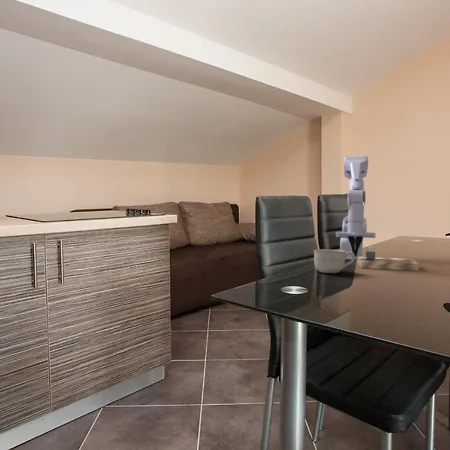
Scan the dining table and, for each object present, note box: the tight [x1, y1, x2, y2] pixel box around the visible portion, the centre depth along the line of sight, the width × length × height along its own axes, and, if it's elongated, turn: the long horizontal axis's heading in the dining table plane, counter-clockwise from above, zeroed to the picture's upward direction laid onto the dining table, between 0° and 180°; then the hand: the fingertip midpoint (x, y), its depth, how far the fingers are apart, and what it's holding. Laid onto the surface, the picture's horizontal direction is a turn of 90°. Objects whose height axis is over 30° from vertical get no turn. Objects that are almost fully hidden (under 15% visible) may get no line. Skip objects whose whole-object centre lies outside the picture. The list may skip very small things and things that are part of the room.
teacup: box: [313, 248, 356, 274], centre depth 142 cm, size 14×11×8 cm
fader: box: [365, 246, 376, 260], centre depth 155 cm, size 3×4×4 cm
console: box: [357, 256, 420, 271], centre depth 154 cm, size 20×12×3 cm, turn 76°
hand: (354, 256), depth 156 cm, fingers closed
